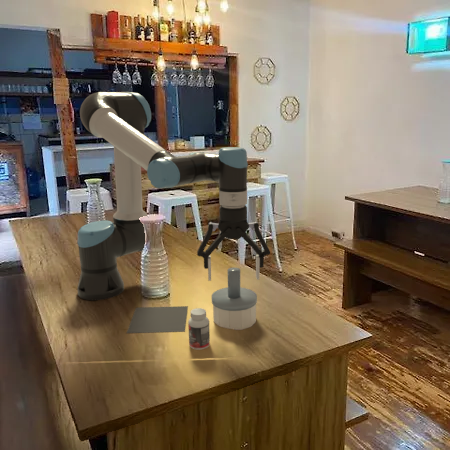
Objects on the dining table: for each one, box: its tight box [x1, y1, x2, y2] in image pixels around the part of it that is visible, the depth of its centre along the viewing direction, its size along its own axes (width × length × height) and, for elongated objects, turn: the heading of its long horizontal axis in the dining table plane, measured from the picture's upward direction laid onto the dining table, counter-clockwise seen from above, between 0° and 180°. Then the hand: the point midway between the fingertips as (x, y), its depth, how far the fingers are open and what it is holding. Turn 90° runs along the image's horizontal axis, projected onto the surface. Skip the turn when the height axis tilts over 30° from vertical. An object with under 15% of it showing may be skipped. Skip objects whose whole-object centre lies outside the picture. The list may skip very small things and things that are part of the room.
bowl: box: [212, 303, 257, 331], centre depth 131 cm, size 12×12×6 cm
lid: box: [211, 267, 258, 311], centre depth 129 cm, size 13×13×10 cm
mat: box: [126, 305, 189, 334], centre depth 132 cm, size 16×16×1 cm
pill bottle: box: [187, 307, 211, 351], centre depth 117 cm, size 5×5×10 cm
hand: (233, 278), depth 128 cm, fingers open, 13 cm apart
